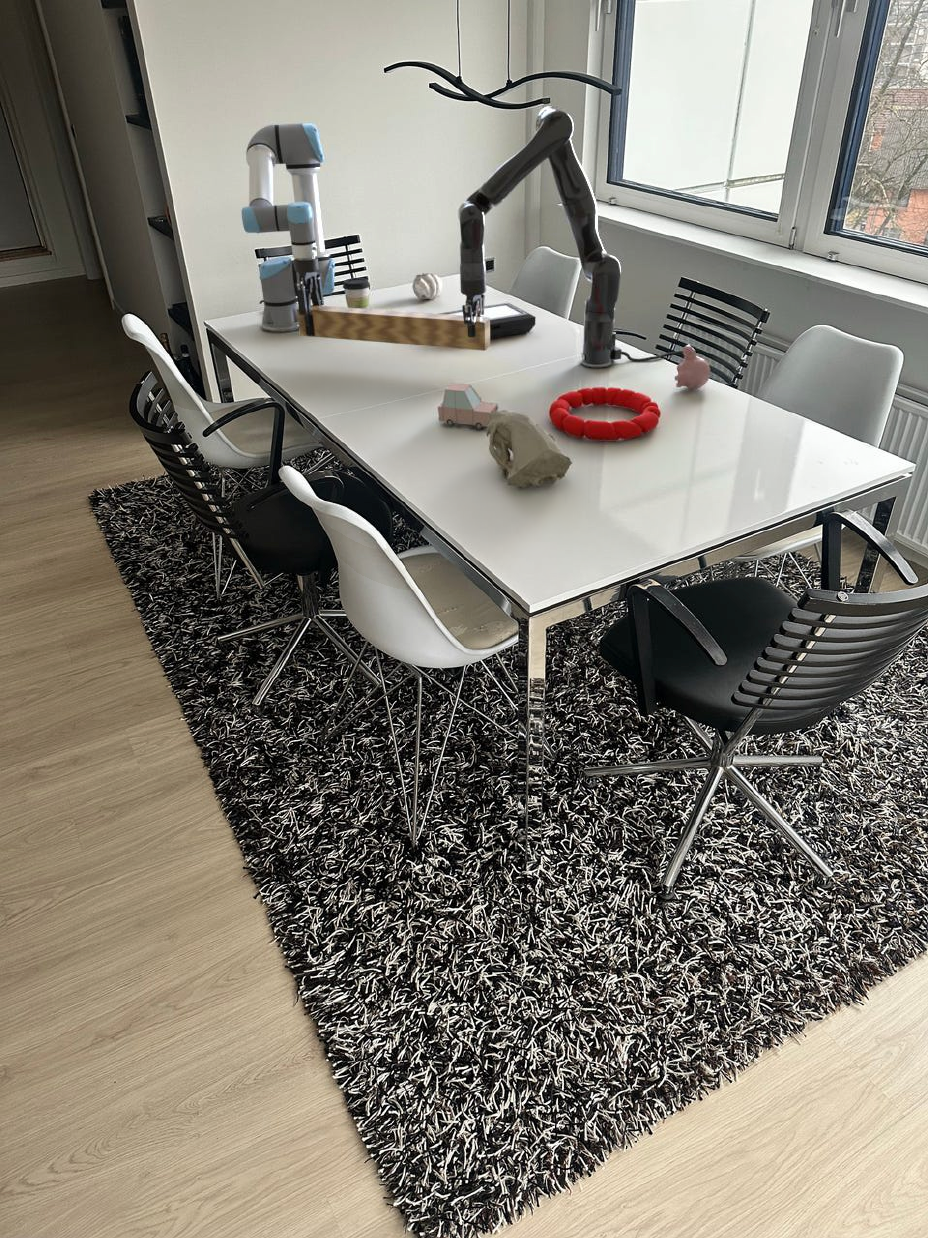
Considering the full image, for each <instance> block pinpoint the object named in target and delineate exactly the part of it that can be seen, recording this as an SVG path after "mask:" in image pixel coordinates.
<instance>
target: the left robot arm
mask: <svg viewBox="0 0 928 1238" xmlns="http://www.w3.org/2000/svg"><path fill="white" fill-rule="evenodd" d="M245 159H246V163H247V165H248V167H249V170H248V206H244V207H242V208H241V219H242V220H241V221H242V222H241V223H242V226H243V229H244V231H245V233H247V234H263V233H277V232H279V233H281V232H289V236H290V244H291V251H292V252H291V253H292V258H294V259H293V261H292V258H291V257H290V256H277V257H273V258H270V259H267V260H265V261H263V262H261V263H260V265H259V266H258V270H259V280H260V285H261V286H260V287H261V292H262V300H260V301H259V305H260V304H262V303H263V313H262V319H261V326H262V330H264V331H265V332H271V333H286V332H293V331H296V330H297V331H298V330H299V323H298V316H297V308H299V314H300V315H303V316H304V320H305V327H306V335H308V336H307V337H310V336H315V331H314V323H313V315H311V305H316V306H325V303H324V302H325V301H324V296H325V295H331V294H333V292H334V290H335V268H336V267H335V264H336V263H335V261H336V260H335V259H333V258H331V253H329V252H328V251H327V250H326V246H325V238H324V228H323V227H324V226H323V219H322V210H321V200H320V190H319V181H318V173H319V171H320V170H321V168H322V167H321V163H324V162H325V157H324V152H323V148H322V142H321V138H320V133H319V130H318V127H317V126H316V125H315V124H314V123H306V122H305V123H304V122H301V123H286V124H284V123H282V124H268V125H266V126H263V127H261V128H260V129H259V130H258V131H257V132H255V134H253V136H252V137H251V138H250V140H249V142H248V144H247V147H246V151H245ZM276 165H285V171H287V172H288V173H289V174H290V176H291V183H292V190H293V191H292V192H293V199H294V202H291V203H288V204H278V205H274V168H275V167H276Z"/></svg>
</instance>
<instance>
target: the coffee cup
mask: <svg viewBox="0 0 928 1238" xmlns="http://www.w3.org/2000/svg"><path fill="white" fill-rule="evenodd" d="M370 287H371V283H370V282H369V279H367V278H365V277H351V278H347V279H345V280H344V281H343V285H342V288H343V290H344V297H345V301H346V305H347V308H360V309H370Z"/></svg>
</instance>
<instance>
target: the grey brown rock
mask: <svg viewBox="0 0 928 1238" xmlns="http://www.w3.org/2000/svg"><path fill="white" fill-rule="evenodd" d="M485 436H486V438H487V437H489V438H488V440H489V444H488V445H489V446H488V450H489V454H490V456H491V457H492V458H493V459H494V460H495V462H496V464H497V466H499V468H500V470H501V471H502V472H501V478H502V479H507V480H506V484H507V486H517V487H518V486H519V488H523V489H524V488H526V486H527V485H529V483H531V485H533V486H534V487H536V488H540V485H541V484H542V482H544V483H549V484H550V485H553V484H555V483H556V482H557V480H561V479H563V478H565V476H566V474H567V472H568V471H569V469H570V467H571V466H572V464H573V462H572V461H571V458H570V457H568V456H567V455H565V453H564V451H562V449H561V448H560V446H559V444H557V443H556V439H555V438H554V436H553V435H551V434H550V433H548V432H547V431H546V430H545V429H544V428H542V427H541V426H539V425H538V424H537V423H536V424H535V422H534V421H533V419H532V418H531V417H530V416H529V415H527V414H524V413H519V412H515V411H509V410H507V409H502V410H500V411H499V410H497V411H496V412H492V413H491V414H490V422H488V423H487V427H486V435H485ZM511 453H512V454H511ZM511 455H512V457H513V458H512V460H511ZM507 474H508V475H507Z"/></svg>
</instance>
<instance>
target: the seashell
mask: <svg viewBox="0 0 928 1238" xmlns="http://www.w3.org/2000/svg"><path fill="white" fill-rule="evenodd" d="M411 288H412V291H413V293H414V295H415V296H416V297H417V298H418V299H420V300H426V299H428V300H432V299H435V298H437V297H438V296H439V295H440V294H441V291H442V289H443V282H442V280H441V278H440V276H437V275H436V273H429V272H428V273H427V272H426V273H424V272H423V273H422V274H416V275H415V278H414V279H413V282H412V287H411Z"/></svg>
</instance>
